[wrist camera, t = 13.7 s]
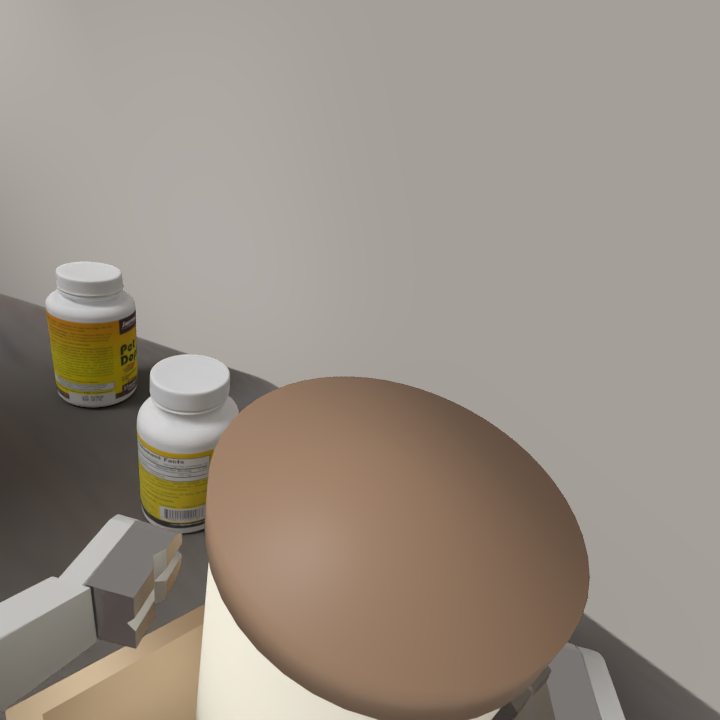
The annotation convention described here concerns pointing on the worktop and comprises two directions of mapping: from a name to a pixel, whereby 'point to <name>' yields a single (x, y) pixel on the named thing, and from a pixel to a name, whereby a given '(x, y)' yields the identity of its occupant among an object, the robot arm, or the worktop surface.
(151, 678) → the oak block
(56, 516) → the worktop surface
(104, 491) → the worktop surface
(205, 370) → the supplement bottle
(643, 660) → the worktop surface
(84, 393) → the supplement bottle
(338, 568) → the cream tin
